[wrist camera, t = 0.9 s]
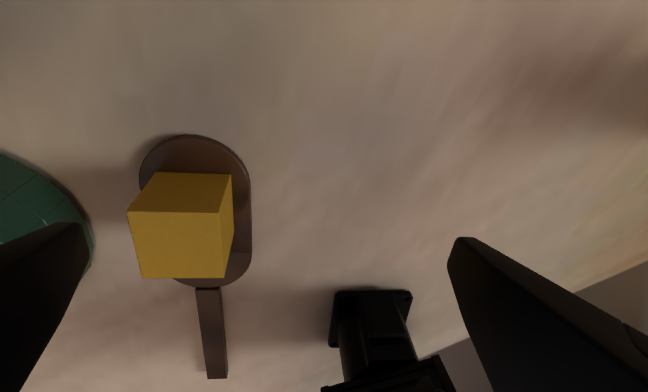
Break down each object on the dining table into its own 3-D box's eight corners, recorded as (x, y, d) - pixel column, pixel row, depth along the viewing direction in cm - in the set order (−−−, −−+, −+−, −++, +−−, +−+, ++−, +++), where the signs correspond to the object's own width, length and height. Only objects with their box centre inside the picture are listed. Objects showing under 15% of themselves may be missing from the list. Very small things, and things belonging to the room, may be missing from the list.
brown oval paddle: (255, 369, 32) (254, 377, 31) (181, 372, 31) (178, 380, 30) (249, 137, 20) (248, 142, 20) (132, 131, 20) (127, 136, 19)
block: (234, 232, 23) (224, 278, 19) (166, 231, 23) (142, 278, 19) (230, 173, 21) (218, 213, 17) (155, 171, 20) (125, 211, 17)
